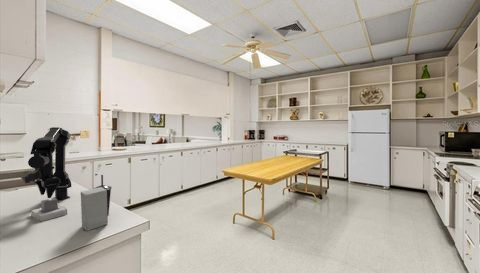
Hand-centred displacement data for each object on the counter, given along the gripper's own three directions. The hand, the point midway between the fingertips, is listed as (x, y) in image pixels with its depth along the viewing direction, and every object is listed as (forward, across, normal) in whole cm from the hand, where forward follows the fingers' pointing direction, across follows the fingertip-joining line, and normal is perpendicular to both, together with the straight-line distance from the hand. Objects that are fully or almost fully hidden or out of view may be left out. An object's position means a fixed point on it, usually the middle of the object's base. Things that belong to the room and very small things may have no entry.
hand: (45, 196), depth 107 cm
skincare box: (+8, +36, +6) cm, 37 cm away
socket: (+8, +4, 0) cm, 9 cm away
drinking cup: (+8, +28, +13) cm, 32 cm away
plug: (+8, +4, 0) cm, 9 cm away
